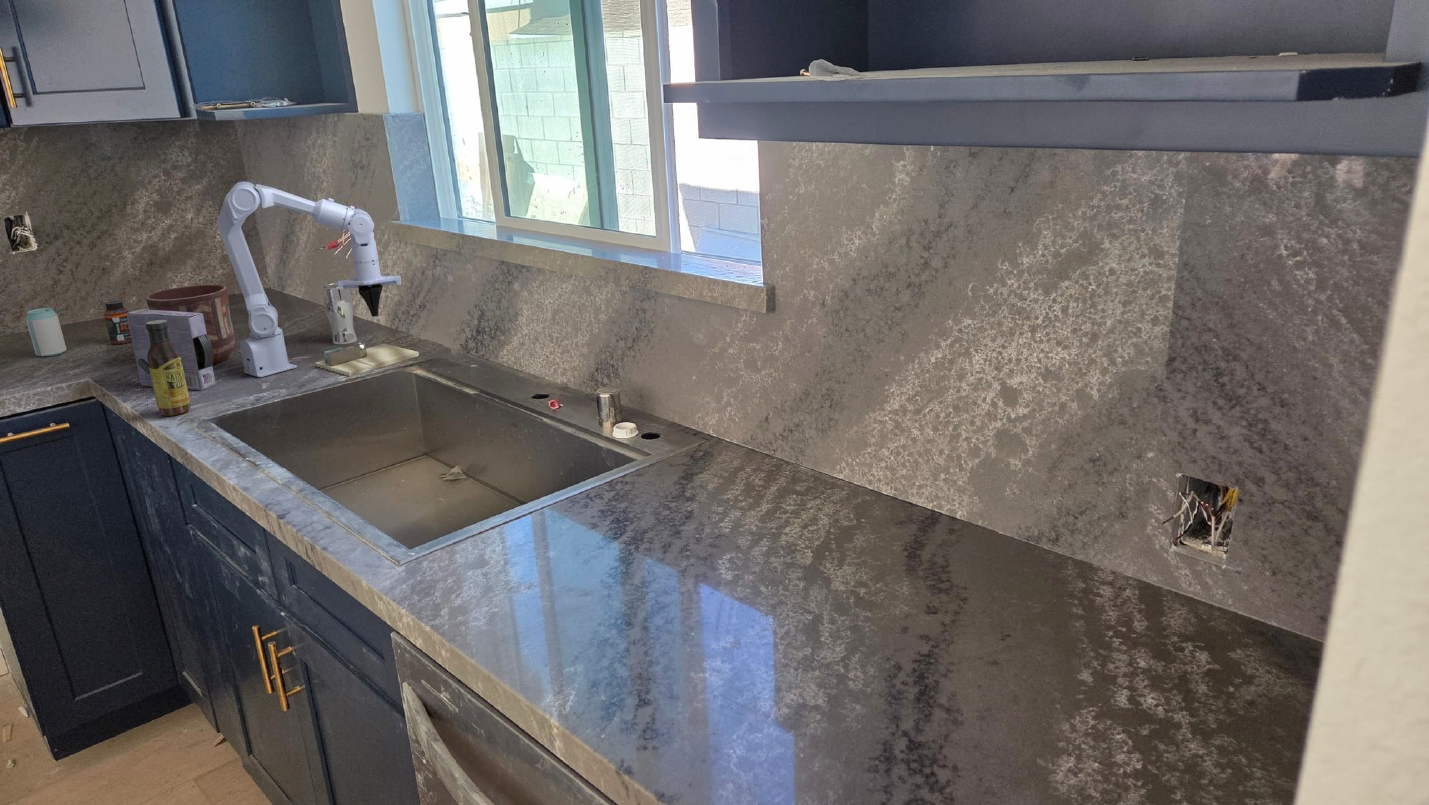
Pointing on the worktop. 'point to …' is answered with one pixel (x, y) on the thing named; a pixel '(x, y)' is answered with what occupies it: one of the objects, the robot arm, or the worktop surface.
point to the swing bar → (346, 354)
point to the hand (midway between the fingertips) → (375, 315)
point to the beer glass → (339, 313)
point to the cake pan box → (175, 345)
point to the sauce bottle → (166, 371)
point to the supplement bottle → (117, 322)
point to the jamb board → (369, 359)
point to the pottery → (203, 301)
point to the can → (45, 332)
